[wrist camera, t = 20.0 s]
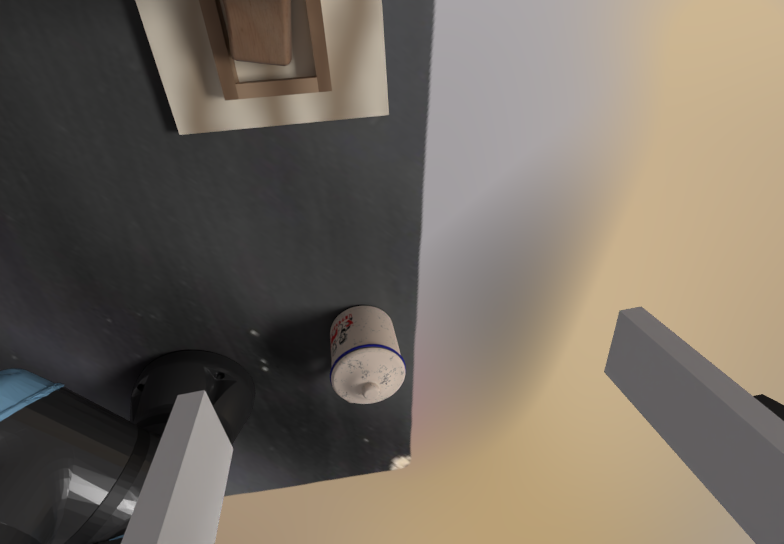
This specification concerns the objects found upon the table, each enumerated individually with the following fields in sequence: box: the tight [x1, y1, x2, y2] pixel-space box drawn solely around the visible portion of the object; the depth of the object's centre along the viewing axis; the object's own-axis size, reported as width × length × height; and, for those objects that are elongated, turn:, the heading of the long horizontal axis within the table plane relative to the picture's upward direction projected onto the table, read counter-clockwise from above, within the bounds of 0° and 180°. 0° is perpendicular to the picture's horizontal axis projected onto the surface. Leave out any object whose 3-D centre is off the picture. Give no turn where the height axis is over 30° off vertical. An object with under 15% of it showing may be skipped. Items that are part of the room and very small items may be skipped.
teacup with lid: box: [330, 306, 406, 404], centre depth 50 cm, size 12×9×12 cm
